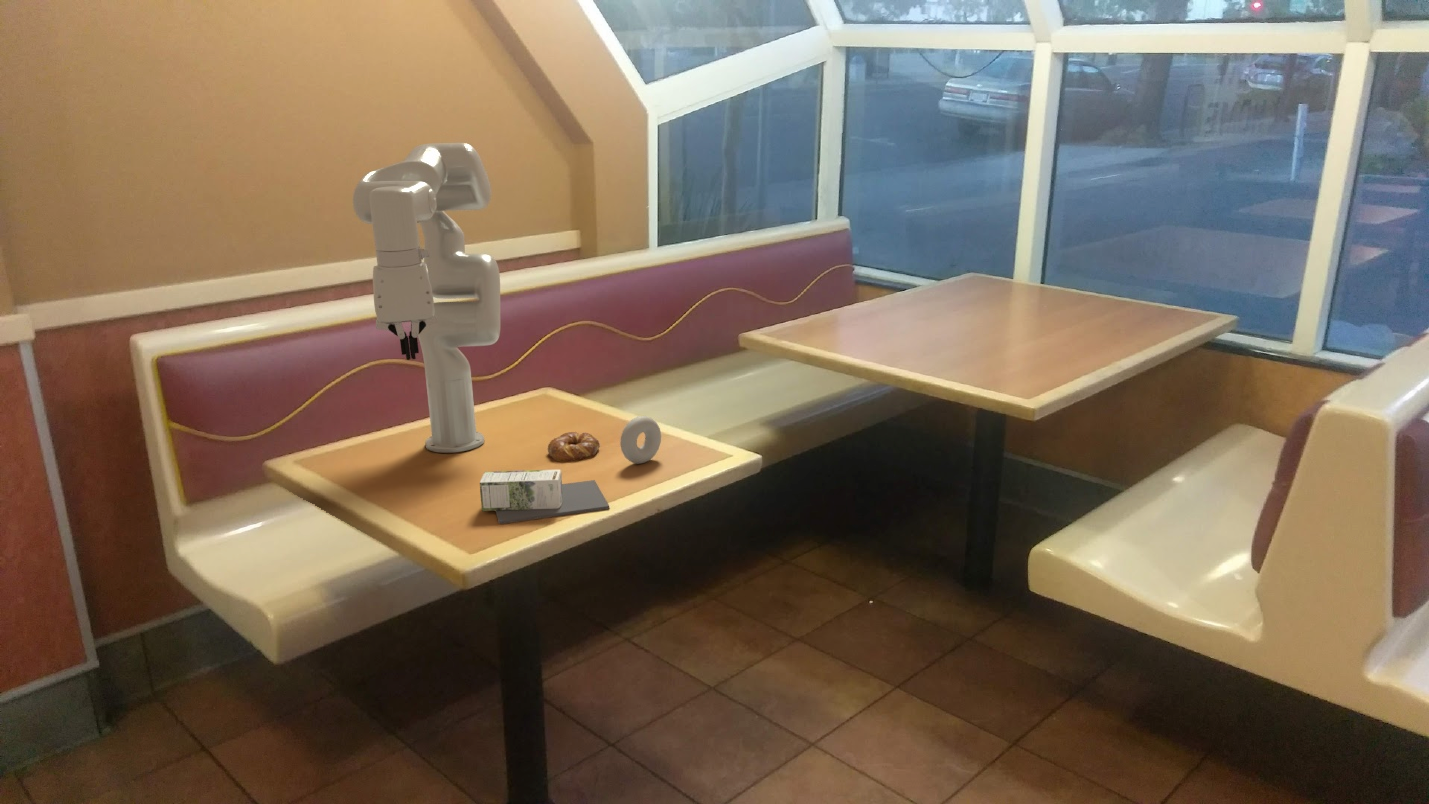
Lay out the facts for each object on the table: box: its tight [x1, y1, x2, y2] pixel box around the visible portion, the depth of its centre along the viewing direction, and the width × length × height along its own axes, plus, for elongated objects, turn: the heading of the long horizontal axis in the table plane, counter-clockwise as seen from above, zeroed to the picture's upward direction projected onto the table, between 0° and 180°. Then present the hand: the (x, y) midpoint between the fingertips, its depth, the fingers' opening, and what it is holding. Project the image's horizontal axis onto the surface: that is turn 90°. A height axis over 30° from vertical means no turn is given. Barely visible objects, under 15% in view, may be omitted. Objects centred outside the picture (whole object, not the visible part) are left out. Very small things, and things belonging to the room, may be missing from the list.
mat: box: [495, 479, 610, 525], centre depth 189 cm, size 14×20×1 cm
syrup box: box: [479, 469, 563, 512], centre depth 186 cm, size 6×6×14 cm
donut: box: [619, 415, 662, 465], centre depth 208 cm, size 10×4×10 cm, turn 134°
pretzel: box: [547, 431, 601, 462], centre depth 215 cm, size 12×11×4 cm
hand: (410, 357), depth 184 cm, fingers closed
